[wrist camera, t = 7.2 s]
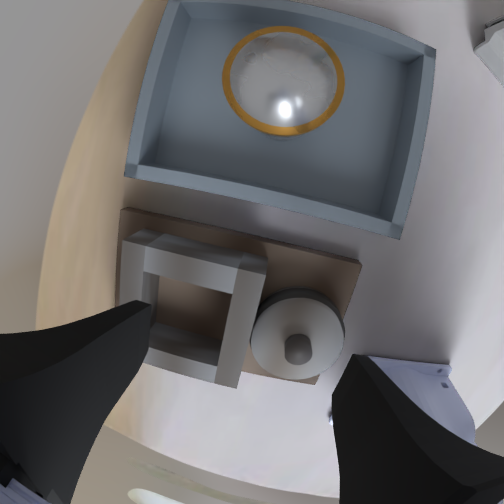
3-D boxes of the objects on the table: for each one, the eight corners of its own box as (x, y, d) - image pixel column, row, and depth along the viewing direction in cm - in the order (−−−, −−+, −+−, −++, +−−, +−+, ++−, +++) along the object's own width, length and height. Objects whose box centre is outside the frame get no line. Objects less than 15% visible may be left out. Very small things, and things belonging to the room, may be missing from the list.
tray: (417, 62, 15) (436, 49, 12) (382, 228, 18) (399, 239, 15) (185, 11, 15) (171, -8, 12) (145, 173, 19) (123, 176, 16)
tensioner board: (358, 260, 19) (378, 287, 15) (314, 376, 22) (318, 417, 18) (127, 207, 19) (91, 220, 15) (120, 328, 22) (94, 358, 18)
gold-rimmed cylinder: (327, 84, 16) (353, 43, 9) (311, 154, 17) (330, 148, 10) (252, 67, 16) (237, 17, 9) (235, 136, 17) (209, 121, 10)
